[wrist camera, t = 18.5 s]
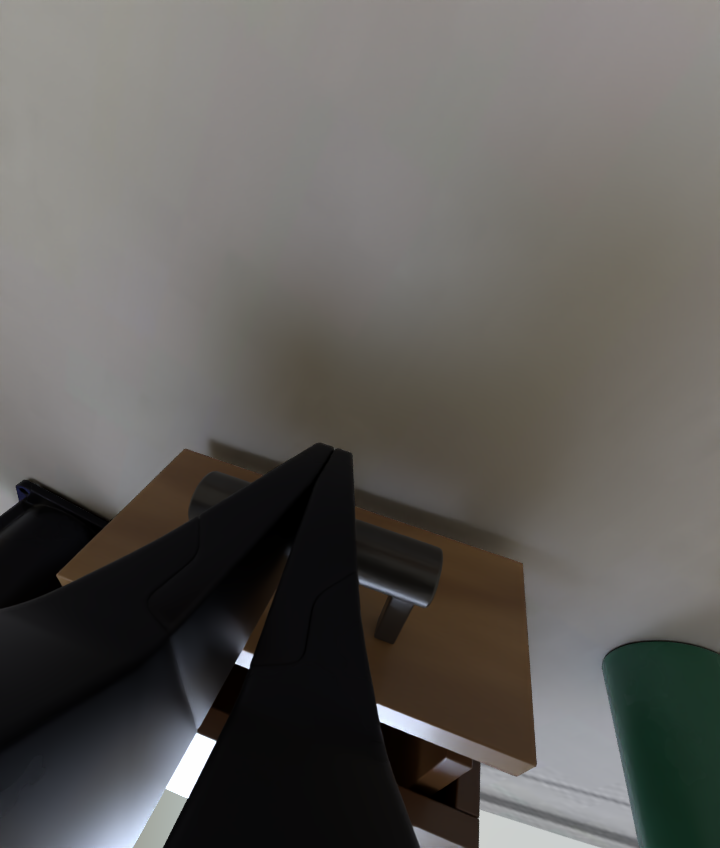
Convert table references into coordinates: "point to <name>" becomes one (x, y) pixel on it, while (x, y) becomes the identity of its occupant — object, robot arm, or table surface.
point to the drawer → (387, 628)
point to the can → (668, 740)
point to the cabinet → (431, 817)
